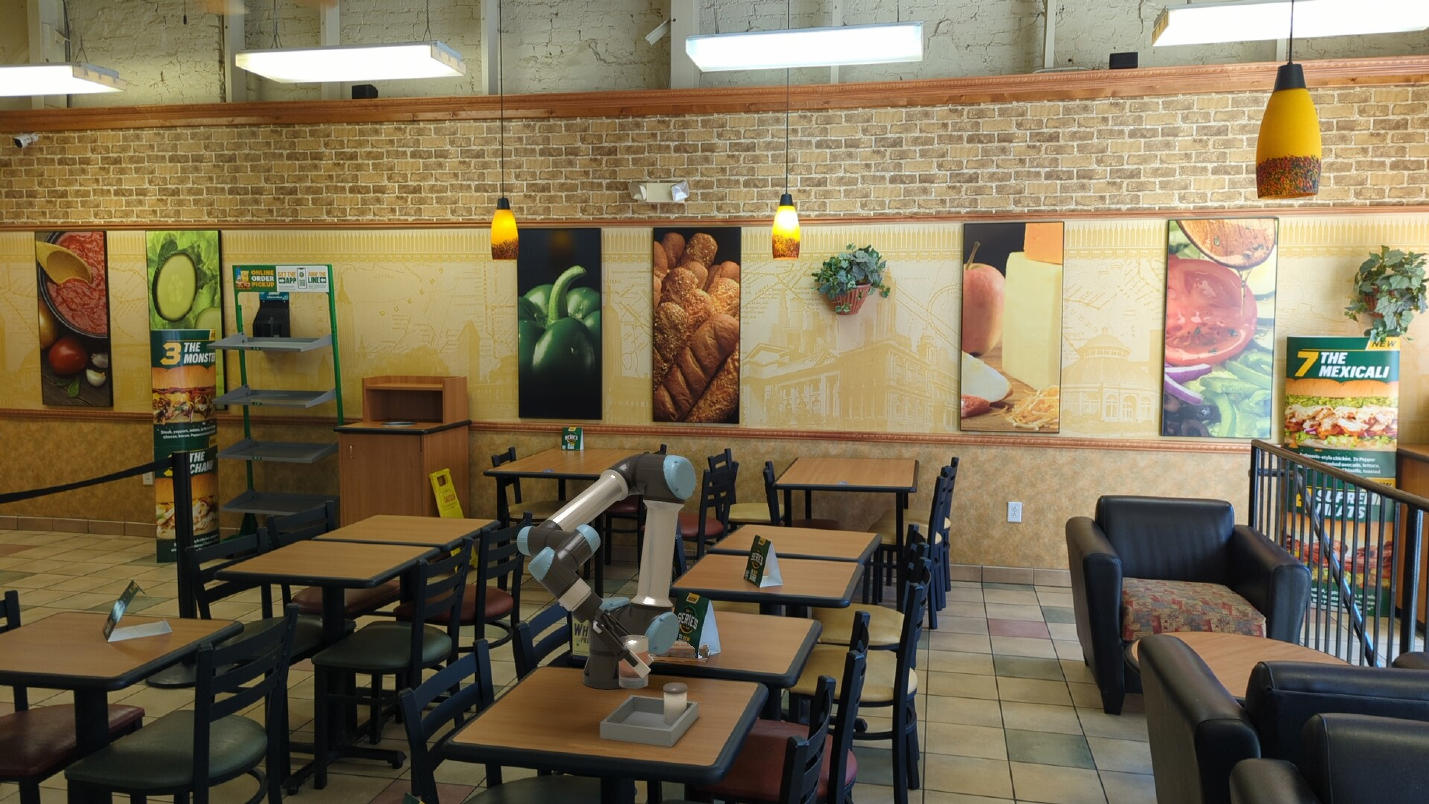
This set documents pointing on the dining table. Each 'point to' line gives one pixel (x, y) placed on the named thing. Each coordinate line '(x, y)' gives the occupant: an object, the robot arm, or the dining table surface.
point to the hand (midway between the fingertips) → (648, 668)
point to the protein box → (580, 639)
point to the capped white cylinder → (674, 707)
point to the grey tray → (646, 722)
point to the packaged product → (684, 651)
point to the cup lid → (675, 688)
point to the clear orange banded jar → (626, 673)
